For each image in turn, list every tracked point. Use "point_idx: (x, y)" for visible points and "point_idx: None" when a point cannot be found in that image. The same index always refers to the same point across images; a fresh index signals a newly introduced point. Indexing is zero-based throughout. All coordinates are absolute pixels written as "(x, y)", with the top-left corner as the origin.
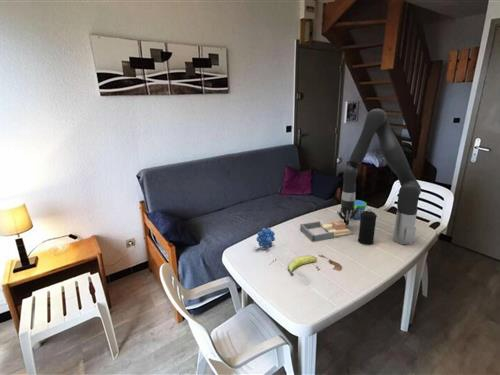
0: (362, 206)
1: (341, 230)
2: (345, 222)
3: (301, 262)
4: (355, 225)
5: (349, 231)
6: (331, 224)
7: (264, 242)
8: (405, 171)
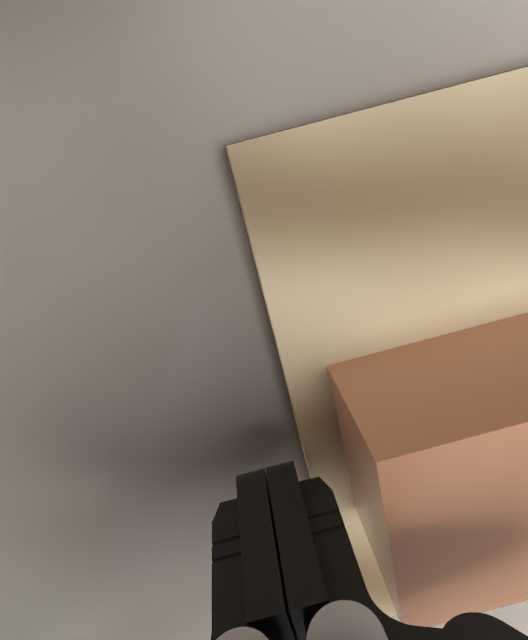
0: None
1: (455, 296)
2: (330, 541)
3: None
4: (33, 538)
5: (288, 228)
6: None
7: None
8: None
